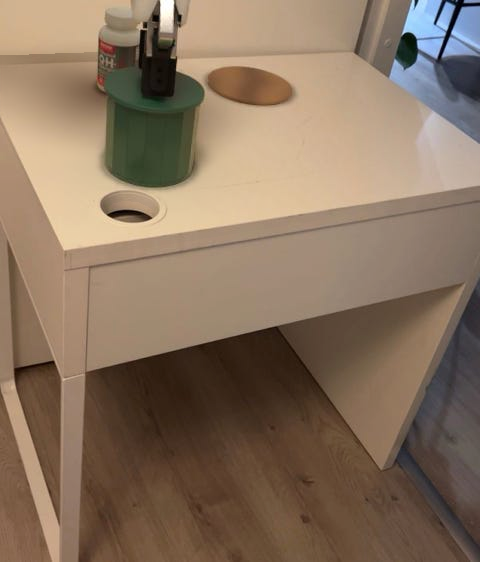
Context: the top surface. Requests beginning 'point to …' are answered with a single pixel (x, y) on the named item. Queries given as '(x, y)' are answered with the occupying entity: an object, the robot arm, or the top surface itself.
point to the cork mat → (249, 85)
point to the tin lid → (128, 93)
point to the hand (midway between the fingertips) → (155, 80)
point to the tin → (149, 145)
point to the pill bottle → (117, 42)
